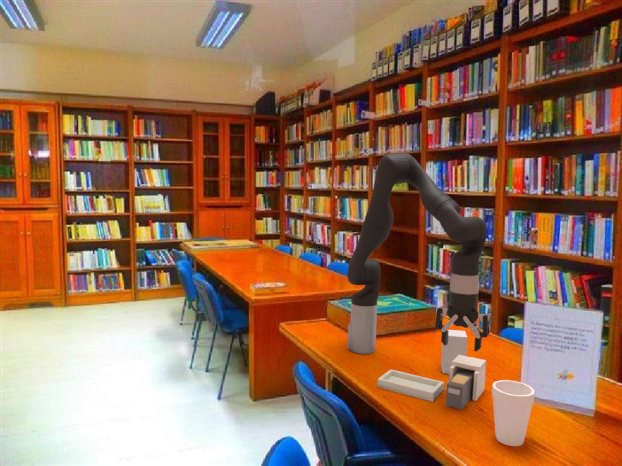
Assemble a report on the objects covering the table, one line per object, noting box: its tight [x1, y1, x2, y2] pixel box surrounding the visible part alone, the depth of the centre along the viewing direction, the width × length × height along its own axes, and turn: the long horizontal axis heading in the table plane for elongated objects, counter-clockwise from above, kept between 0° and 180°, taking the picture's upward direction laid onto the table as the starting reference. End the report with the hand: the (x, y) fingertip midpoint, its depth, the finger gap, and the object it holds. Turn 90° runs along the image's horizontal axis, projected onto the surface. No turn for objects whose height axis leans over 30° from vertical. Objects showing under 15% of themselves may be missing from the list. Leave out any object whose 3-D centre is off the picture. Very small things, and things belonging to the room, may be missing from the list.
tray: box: [377, 369, 445, 403], centre depth 152 cm, size 17×10×2 cm, turn 58°
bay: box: [448, 355, 487, 402], centre depth 151 cm, size 8×9×9 cm
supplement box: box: [440, 329, 468, 375], centre depth 167 cm, size 7×7×13 cm
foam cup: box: [491, 379, 536, 447], centre depth 124 cm, size 10×9×13 cm
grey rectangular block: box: [445, 369, 475, 411], centre depth 145 cm, size 4×14×7 cm, turn 148°
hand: (460, 347), depth 141 cm, fingers open, 8 cm apart
